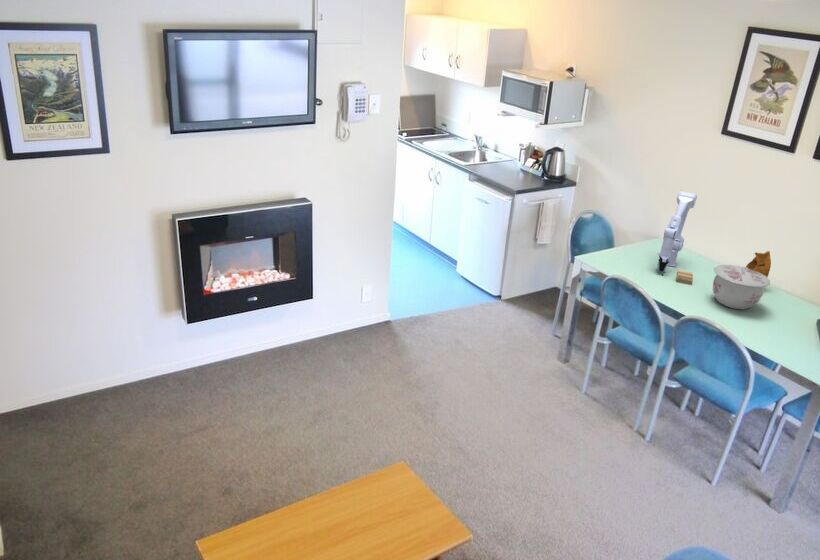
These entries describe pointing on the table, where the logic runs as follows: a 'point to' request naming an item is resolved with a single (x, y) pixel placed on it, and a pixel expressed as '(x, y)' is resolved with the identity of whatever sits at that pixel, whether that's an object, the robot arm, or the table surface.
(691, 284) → the walnut slab
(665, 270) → the round block
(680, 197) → the robot arm
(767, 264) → the coffee package
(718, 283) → the chamber pot
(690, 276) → the oak slab
